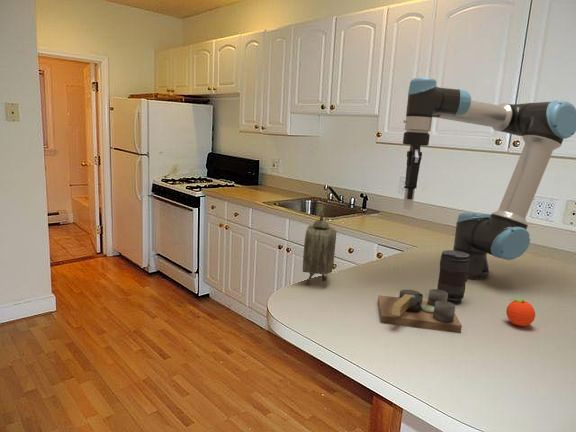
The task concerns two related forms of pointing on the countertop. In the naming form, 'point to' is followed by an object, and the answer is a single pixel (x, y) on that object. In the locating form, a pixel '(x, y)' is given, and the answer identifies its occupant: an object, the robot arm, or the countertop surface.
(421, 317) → the base
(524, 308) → the tomato
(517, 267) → the countertop surface
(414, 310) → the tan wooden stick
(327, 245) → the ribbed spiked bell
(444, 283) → the camera lens
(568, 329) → the countertop surface
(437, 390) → the countertop surface
